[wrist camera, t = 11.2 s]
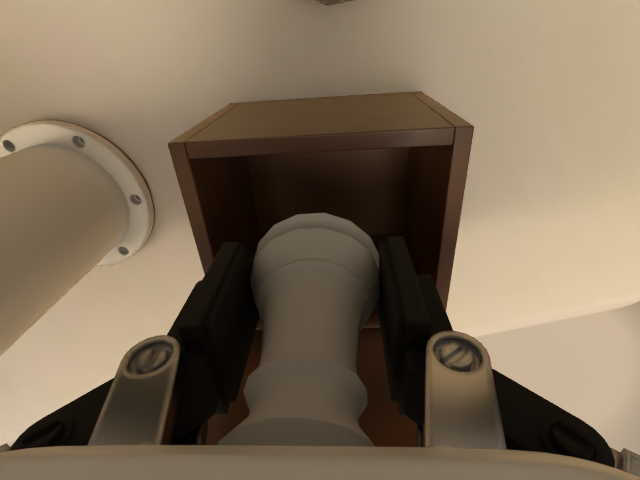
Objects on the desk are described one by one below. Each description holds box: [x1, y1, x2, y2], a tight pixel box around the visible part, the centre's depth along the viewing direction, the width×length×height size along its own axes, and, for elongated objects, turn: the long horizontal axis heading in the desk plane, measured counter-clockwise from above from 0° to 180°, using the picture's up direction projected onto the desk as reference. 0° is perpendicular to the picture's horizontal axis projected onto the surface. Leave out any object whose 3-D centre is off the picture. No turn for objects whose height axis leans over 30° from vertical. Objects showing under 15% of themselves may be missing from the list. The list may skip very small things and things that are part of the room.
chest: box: [168, 91, 474, 329], centre depth 23 cm, size 12×14×11 cm
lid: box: [206, 327, 417, 447], centre depth 15 cm, size 12×14×6 cm
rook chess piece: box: [218, 213, 380, 447], centre depth 9 cm, size 4×4×8 cm
